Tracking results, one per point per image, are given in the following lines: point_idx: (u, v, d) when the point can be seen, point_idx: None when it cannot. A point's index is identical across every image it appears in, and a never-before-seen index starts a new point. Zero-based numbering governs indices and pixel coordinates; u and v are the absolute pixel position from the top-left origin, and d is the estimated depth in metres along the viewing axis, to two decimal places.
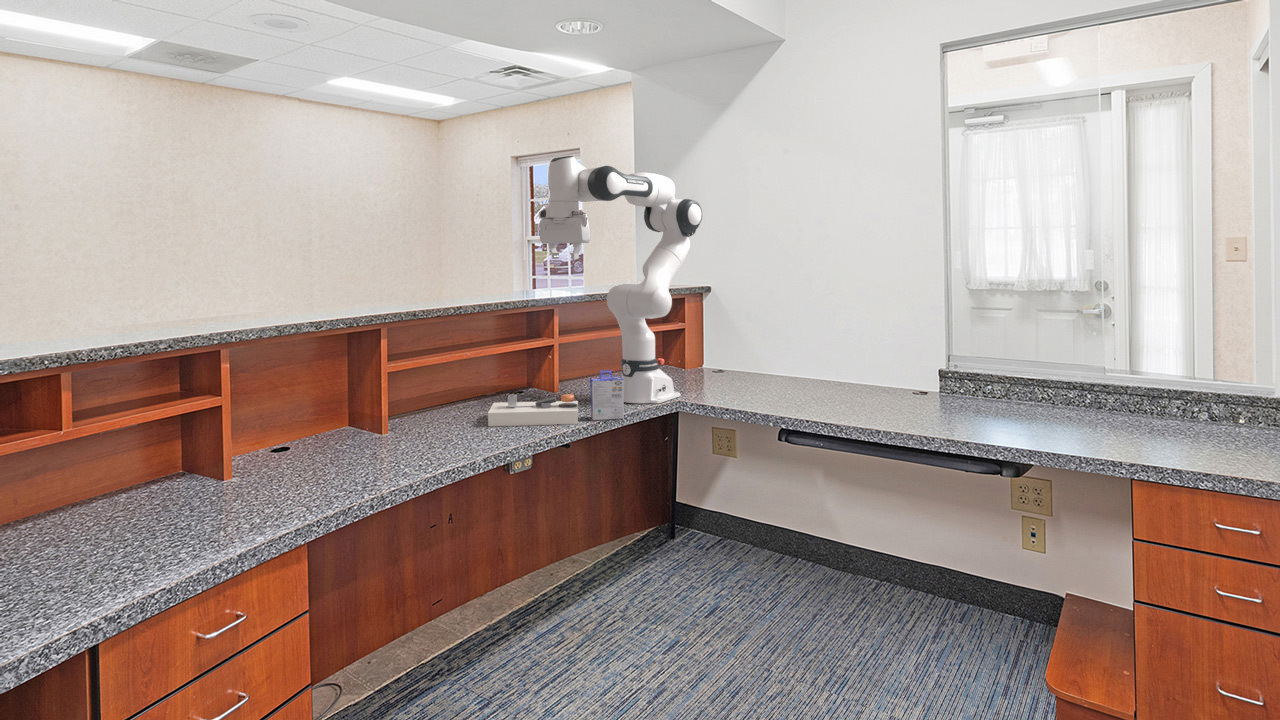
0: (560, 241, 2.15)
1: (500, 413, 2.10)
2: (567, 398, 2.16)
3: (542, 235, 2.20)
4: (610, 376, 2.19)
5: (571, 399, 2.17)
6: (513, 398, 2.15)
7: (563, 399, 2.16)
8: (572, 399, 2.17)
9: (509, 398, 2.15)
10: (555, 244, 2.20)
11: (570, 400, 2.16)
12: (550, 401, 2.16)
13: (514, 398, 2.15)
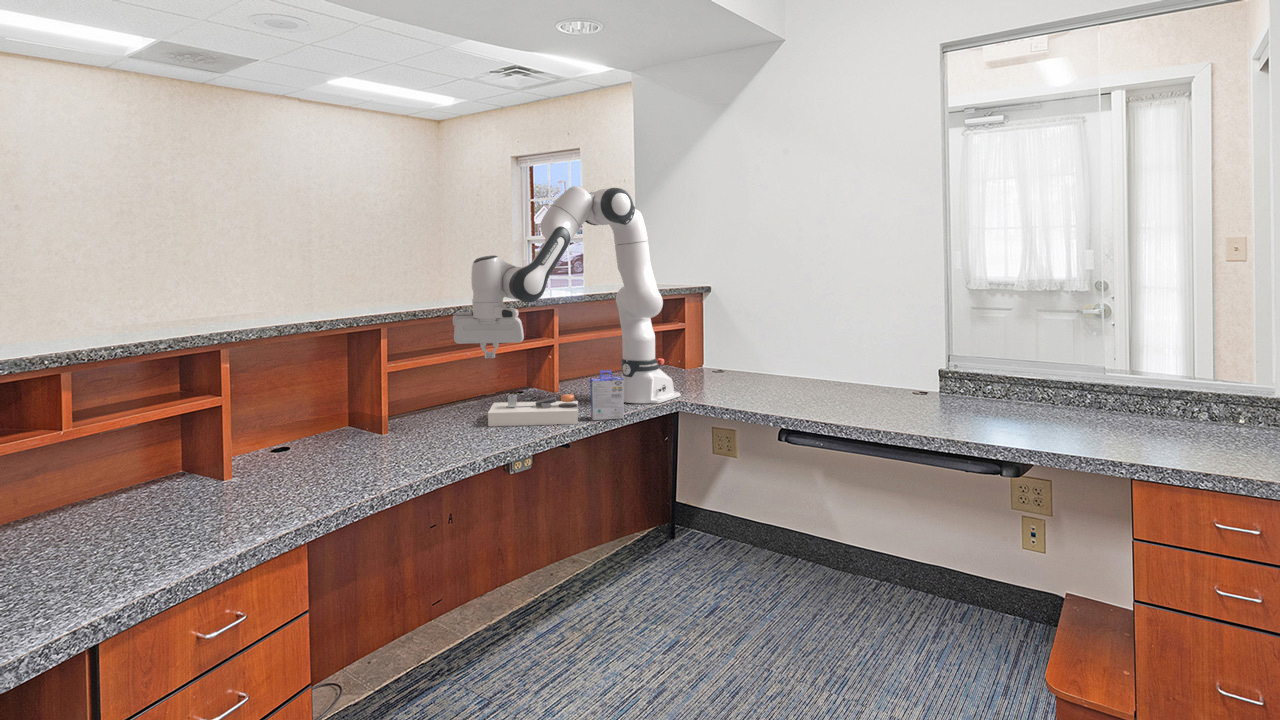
0: None
1: (500, 413, 2.10)
2: (567, 398, 2.16)
3: None
4: (610, 376, 2.19)
5: (571, 399, 2.17)
6: (513, 398, 2.15)
7: (563, 399, 2.16)
8: (572, 399, 2.17)
9: (509, 398, 2.15)
10: (493, 343, 2.13)
11: (570, 400, 2.16)
12: (550, 401, 2.16)
13: (514, 398, 2.15)
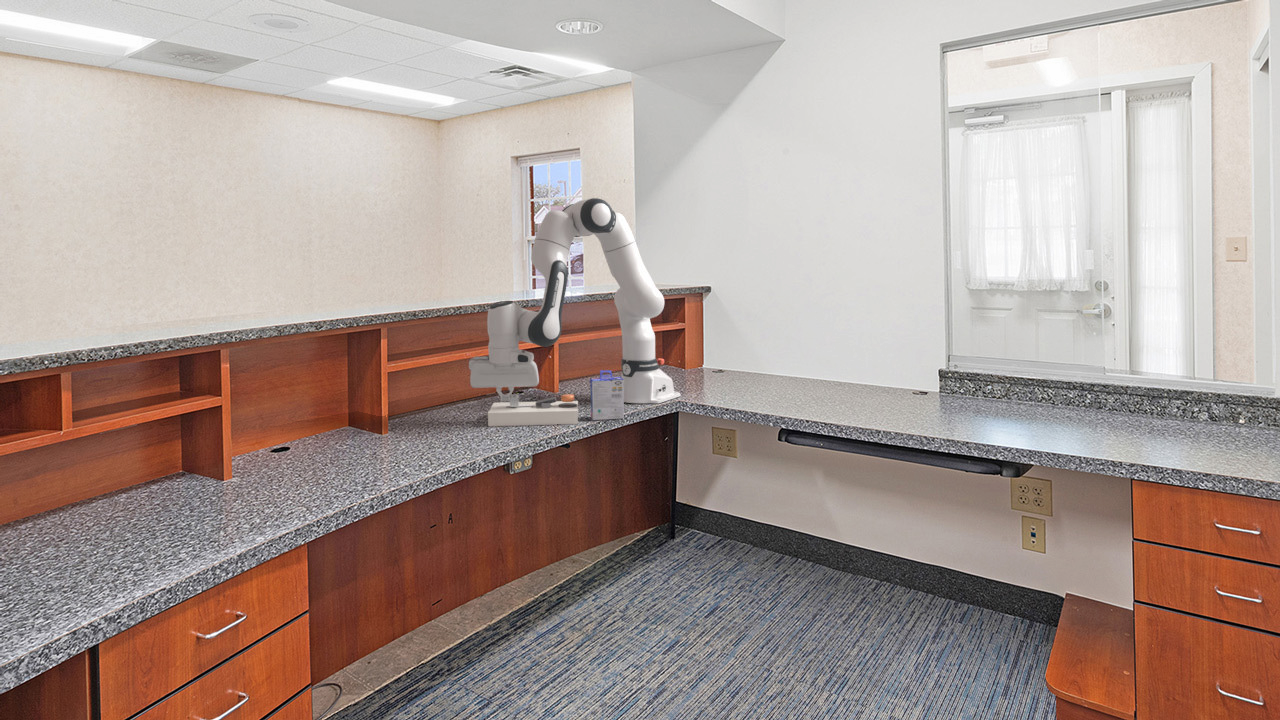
0: None
1: (500, 413, 2.10)
2: (567, 398, 2.16)
3: None
4: (610, 376, 2.19)
5: (571, 399, 2.17)
6: (515, 398, 2.15)
7: (563, 399, 2.16)
8: (572, 399, 2.17)
9: (511, 398, 2.15)
10: (508, 387, 2.16)
11: (570, 400, 2.16)
12: (550, 401, 2.16)
13: (516, 398, 2.15)
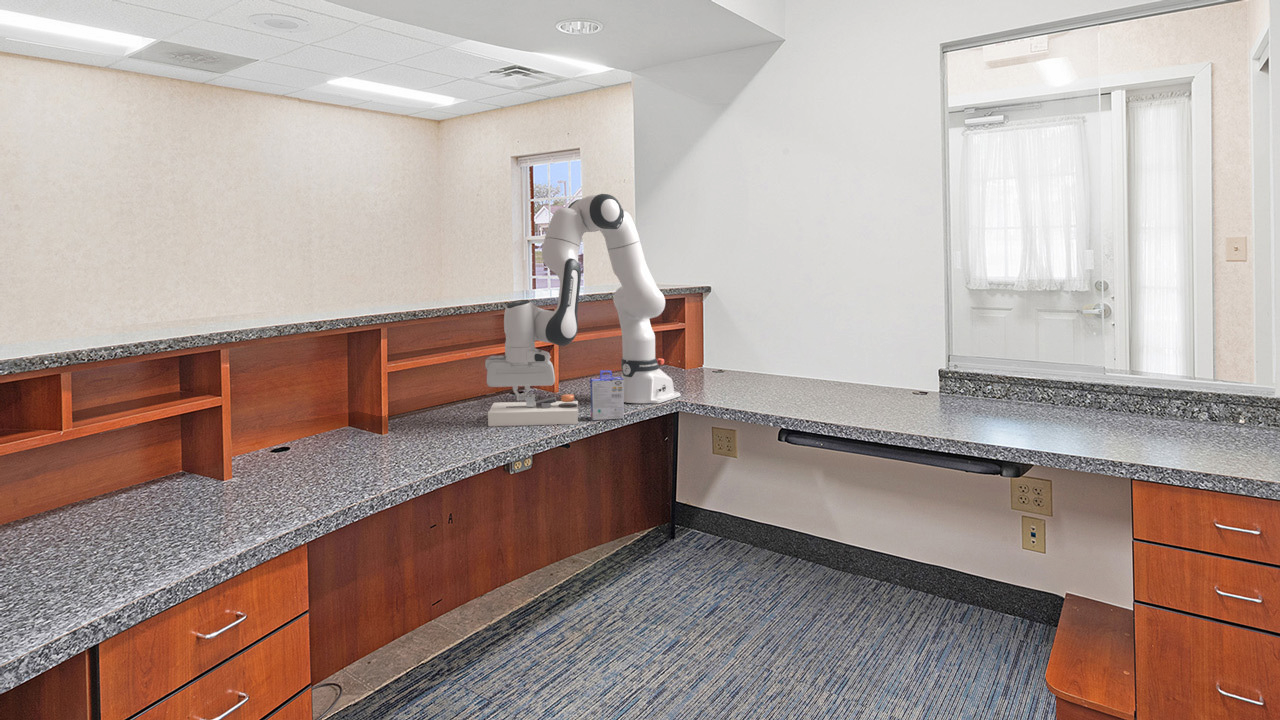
0: None
1: (500, 413, 2.10)
2: (567, 398, 2.16)
3: None
4: (610, 376, 2.19)
5: (571, 399, 2.17)
6: (531, 398, 2.15)
7: (563, 399, 2.16)
8: (572, 399, 2.17)
9: (527, 398, 2.15)
10: (525, 386, 2.16)
11: (570, 400, 2.16)
12: (550, 401, 2.16)
13: (532, 398, 2.15)
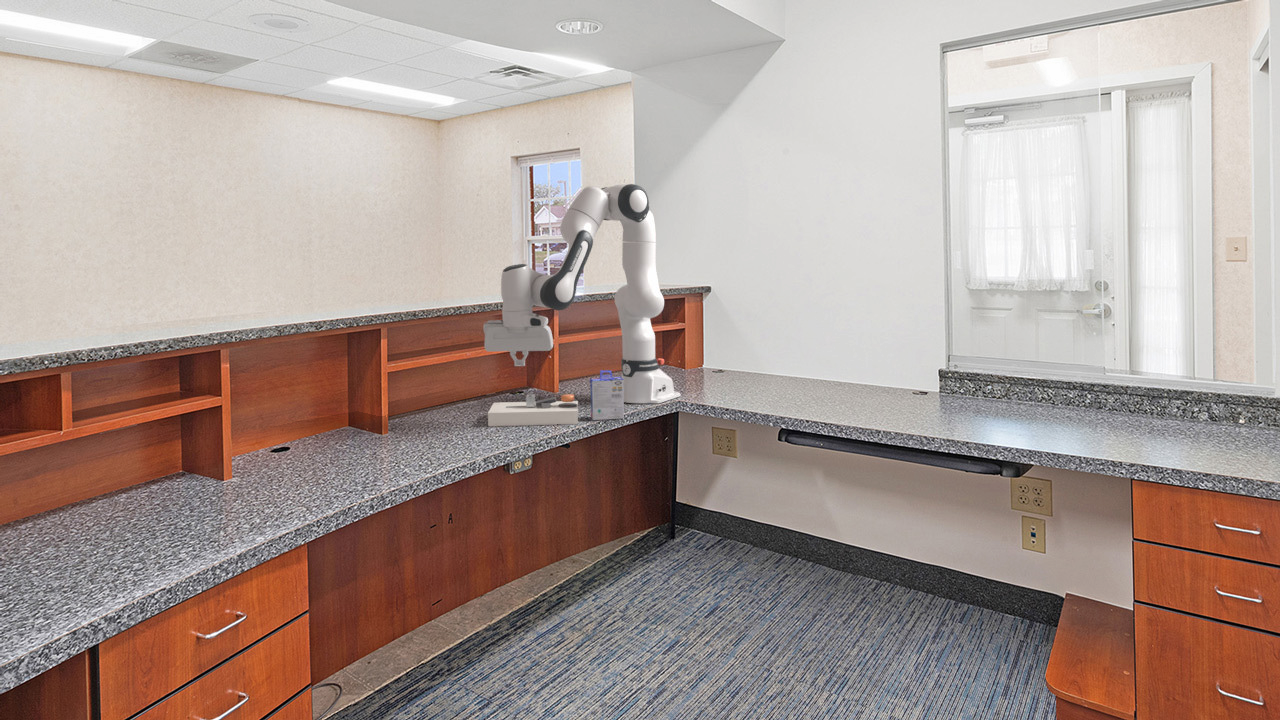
0: None
1: (500, 413, 2.10)
2: (567, 398, 2.16)
3: None
4: (610, 376, 2.19)
5: (571, 399, 2.17)
6: (531, 398, 2.15)
7: (563, 399, 2.16)
8: (572, 399, 2.17)
9: (527, 398, 2.15)
10: None
11: (570, 400, 2.16)
12: (550, 401, 2.16)
13: (532, 398, 2.15)
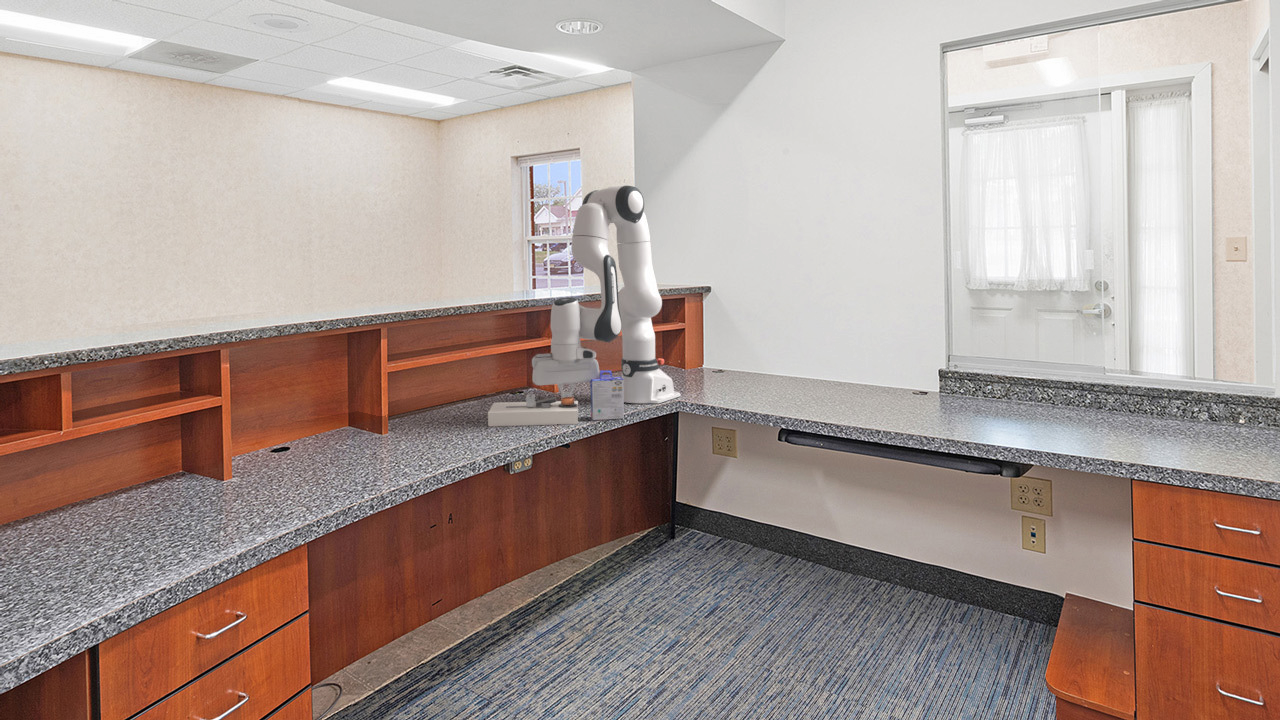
0: None
1: (500, 413, 2.10)
2: (567, 400, 2.16)
3: None
4: (610, 376, 2.19)
5: (571, 402, 2.17)
6: (531, 398, 2.15)
7: (563, 401, 2.17)
8: (572, 401, 2.17)
9: (527, 398, 2.15)
10: (570, 383, 2.17)
11: (570, 402, 2.17)
12: (550, 401, 2.16)
13: (532, 398, 2.15)
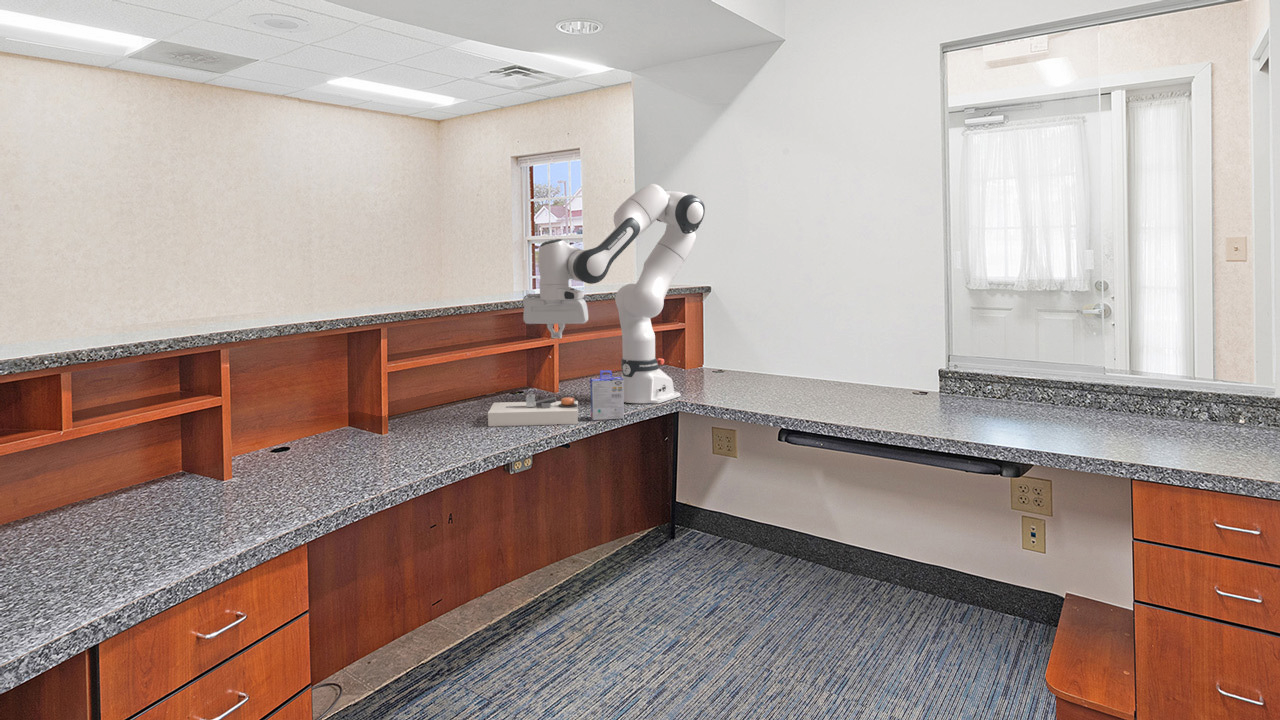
0: None
1: (500, 413, 2.10)
2: (567, 401, 2.16)
3: None
4: (610, 376, 2.19)
5: (571, 403, 2.17)
6: (531, 398, 2.15)
7: (563, 402, 2.17)
8: (572, 402, 2.17)
9: (527, 398, 2.15)
10: None
11: (570, 403, 2.17)
12: (550, 401, 2.16)
13: (532, 398, 2.15)
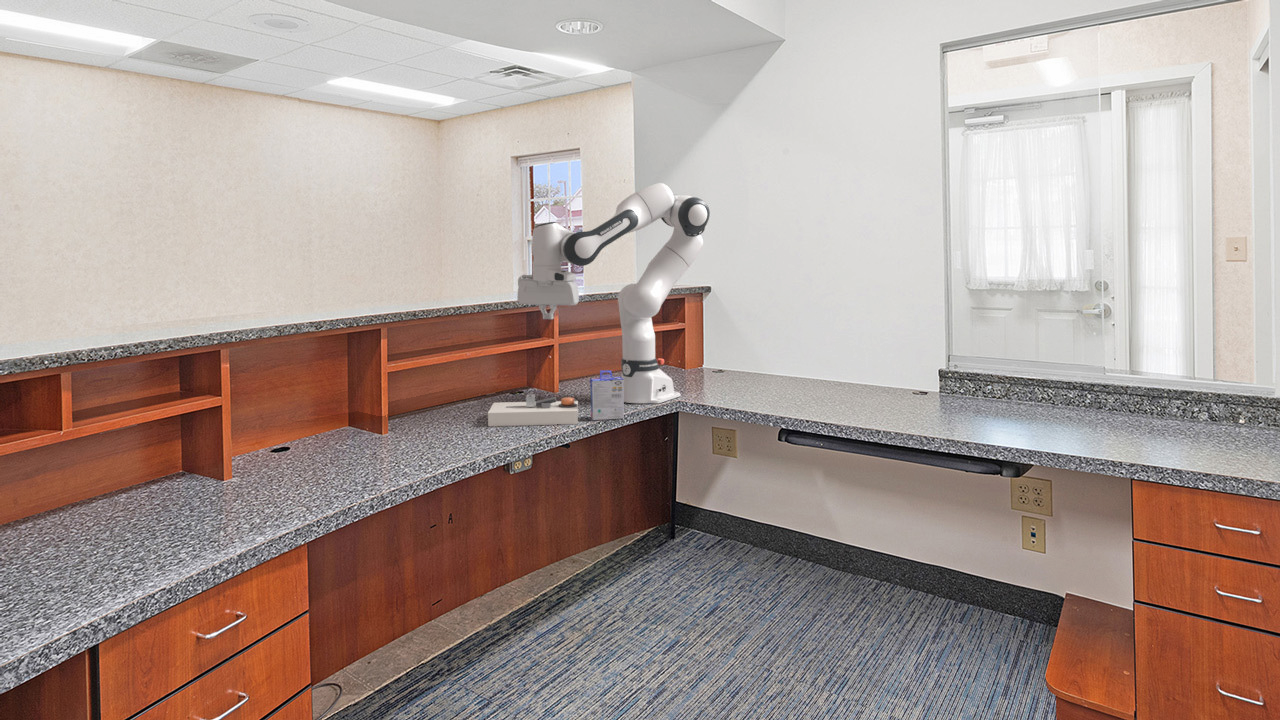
0: None
1: (500, 413, 2.10)
2: (567, 401, 2.16)
3: None
4: (610, 376, 2.19)
5: (571, 403, 2.17)
6: (531, 398, 2.15)
7: (563, 402, 2.17)
8: (572, 402, 2.17)
9: (527, 398, 2.15)
10: None
11: (570, 403, 2.17)
12: (550, 401, 2.16)
13: (532, 398, 2.15)
